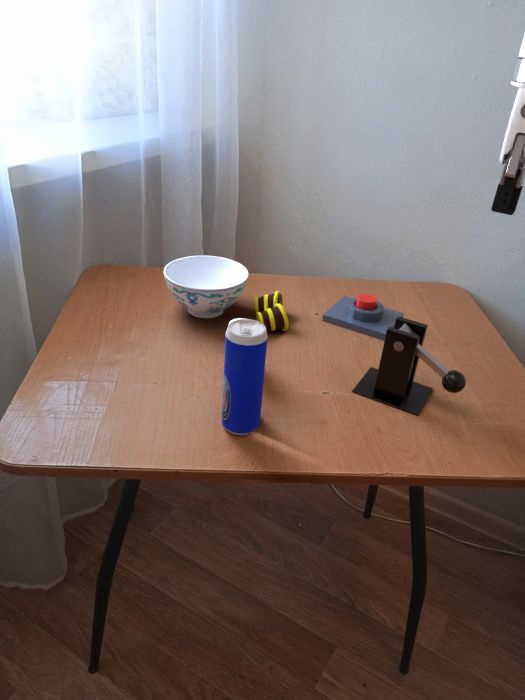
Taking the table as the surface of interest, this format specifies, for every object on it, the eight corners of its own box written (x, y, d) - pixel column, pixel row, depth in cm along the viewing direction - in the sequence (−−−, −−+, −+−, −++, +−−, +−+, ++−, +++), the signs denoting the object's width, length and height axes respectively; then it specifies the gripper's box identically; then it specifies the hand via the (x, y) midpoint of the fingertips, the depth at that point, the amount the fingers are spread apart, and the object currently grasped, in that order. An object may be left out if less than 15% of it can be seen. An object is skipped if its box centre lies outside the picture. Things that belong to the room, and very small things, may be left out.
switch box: (401, 323, 105) (405, 304, 103) (384, 345, 97) (388, 325, 95) (342, 305, 110) (345, 286, 108) (321, 325, 102) (324, 305, 100)
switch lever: (457, 390, 80) (473, 377, 78) (451, 401, 78) (468, 388, 76) (394, 334, 82) (408, 319, 79) (386, 343, 79) (401, 328, 77)
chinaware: (168, 331, 96) (167, 290, 92) (161, 293, 108) (160, 256, 104) (253, 327, 99) (256, 287, 95) (237, 291, 112) (239, 254, 108)
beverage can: (223, 411, 78) (227, 316, 70) (260, 414, 78) (268, 319, 70) (219, 435, 73) (223, 336, 66) (258, 438, 73) (267, 339, 66)
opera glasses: (256, 313, 106) (252, 290, 103) (283, 309, 106) (281, 285, 103) (260, 339, 97) (256, 314, 95) (290, 335, 97) (287, 310, 95)
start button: (378, 306, 102) (379, 297, 101) (371, 313, 100) (373, 304, 99) (359, 300, 104) (361, 292, 103) (352, 307, 101) (353, 298, 100)
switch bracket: (431, 394, 85) (450, 326, 79) (416, 421, 79) (435, 350, 73) (369, 372, 89) (383, 306, 83) (350, 397, 83) (364, 327, 77)
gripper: (569, 82, 67) (521, 230, 76) (577, 77, 78) (535, 206, 88) (504, 75, 70) (466, 218, 79) (521, 70, 81) (486, 196, 91)
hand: (502, 211), depth 84 cm, fingers closed
